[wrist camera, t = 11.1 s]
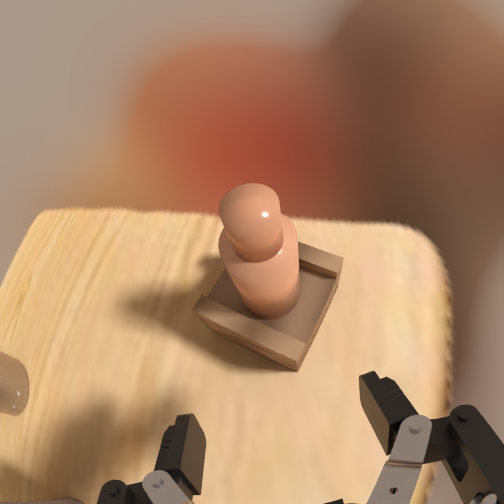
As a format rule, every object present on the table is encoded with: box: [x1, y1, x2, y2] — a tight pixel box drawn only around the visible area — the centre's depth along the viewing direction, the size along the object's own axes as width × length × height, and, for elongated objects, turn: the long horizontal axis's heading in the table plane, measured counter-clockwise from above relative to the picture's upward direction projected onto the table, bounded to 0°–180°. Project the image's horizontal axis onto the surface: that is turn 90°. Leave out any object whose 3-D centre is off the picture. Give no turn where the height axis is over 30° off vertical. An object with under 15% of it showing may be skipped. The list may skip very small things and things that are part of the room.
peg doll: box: [219, 183, 300, 319], centre depth 22 cm, size 5×5×12 cm
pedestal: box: [193, 242, 343, 372], centre depth 28 cm, size 10×10×6 cm
